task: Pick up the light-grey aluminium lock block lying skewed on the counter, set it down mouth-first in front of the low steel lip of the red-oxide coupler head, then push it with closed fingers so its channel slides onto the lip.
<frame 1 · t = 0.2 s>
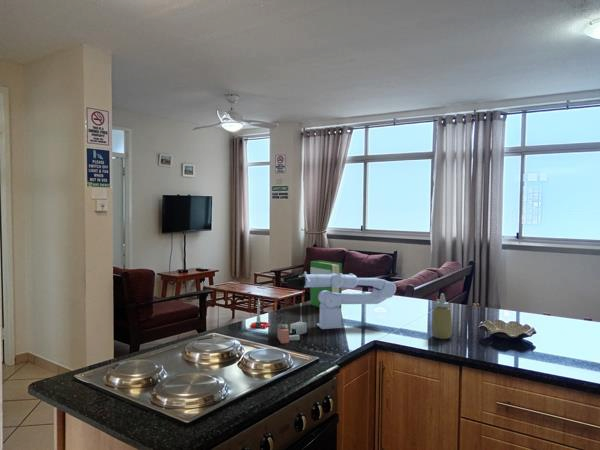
hand: (285, 281, 187), 21 cm above the worktop, tool horizontal, fingers open, 7 cm apart
lock block: (298, 332, 182), on the worktop
squeeze bottle: (441, 337, 177), on the worktop
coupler: (286, 340, 172), on the worktop
hardback book: (325, 306, 234), on the worktop
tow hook: (260, 326, 193), on the worktop
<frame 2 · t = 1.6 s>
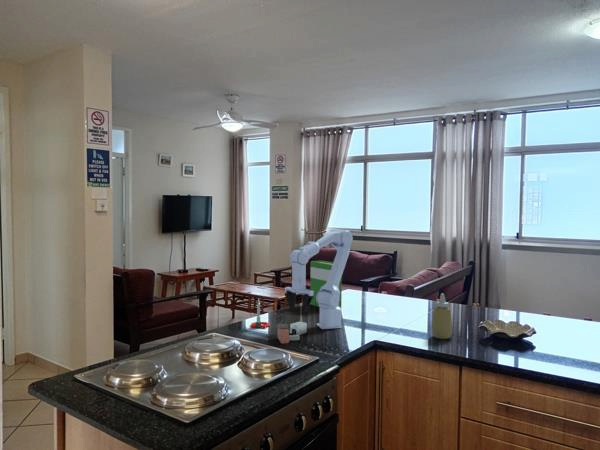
hand: (298, 310, 182), 9 cm above the worktop, tool pointing down, fingers open, 7 cm apart
nothing on the worktop moved.
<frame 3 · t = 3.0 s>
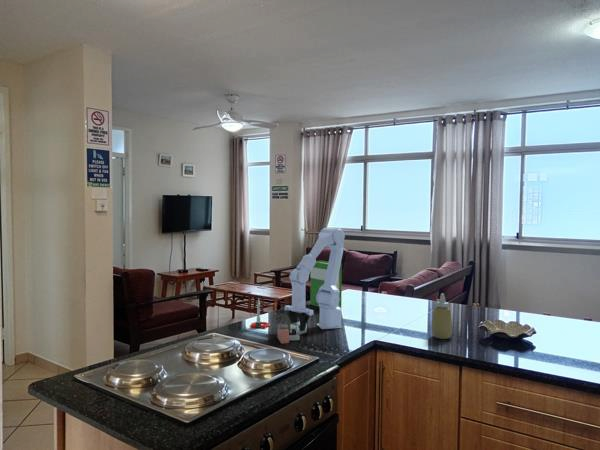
hand: (298, 329, 182), 1 cm above the worktop, tool pointing down, fingers closed on lock block, 4 cm apart
lock block: (298, 332, 182), on the worktop, touching gripper
everything else where it was.
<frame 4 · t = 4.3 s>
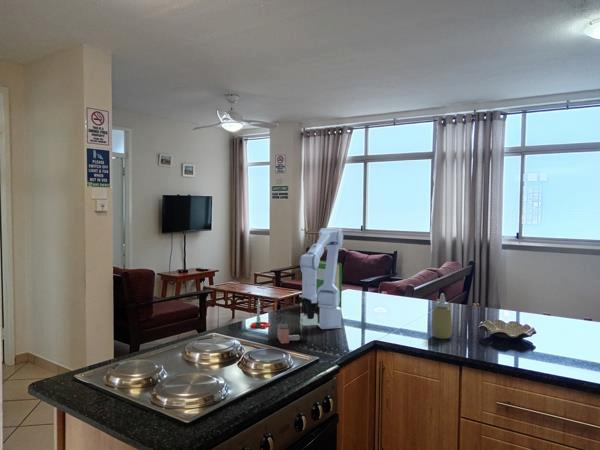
hand: (309, 317, 174), 8 cm above the worktop, tool pointing down, fingers closed on lock block, 4 cm apart
lock block: (308, 324, 174), point 6 cm above the worktop, touching gripper
everything else where it was.
when the fingers open (3 cm above the worktop, at t = 5.7 s): lock block stays where it is, on the worktop.
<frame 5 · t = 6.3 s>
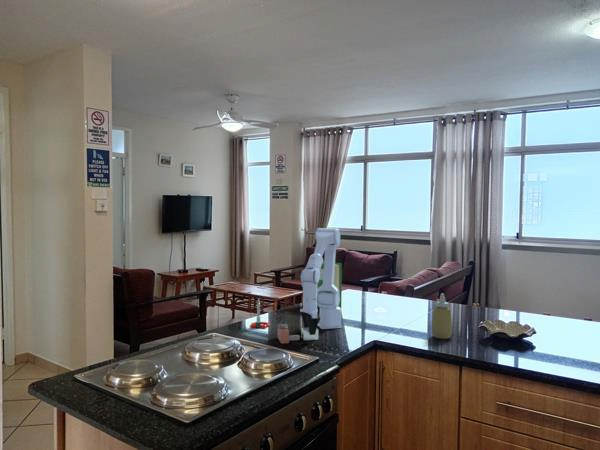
hand: (309, 331, 174), 3 cm above the worktop, tool pointing down, fingers open, 7 cm apart
lock block: (309, 338, 174), on the worktop
everything else where it was.
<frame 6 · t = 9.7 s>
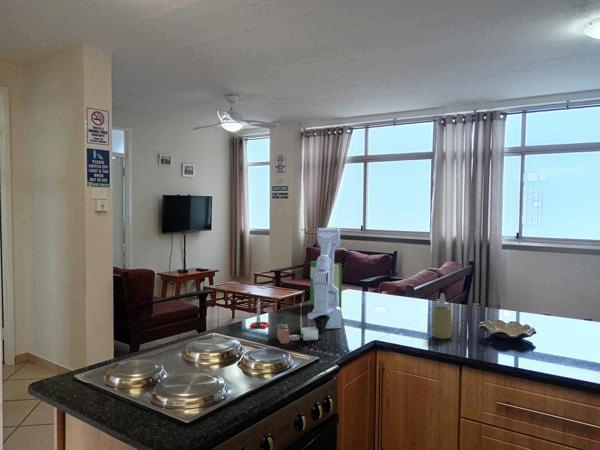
hand: (321, 333, 175), 2 cm above the worktop, tool pointing down, fingers closed
lock block: (309, 338, 174), on the worktop, touching gripper
everything else where it was.
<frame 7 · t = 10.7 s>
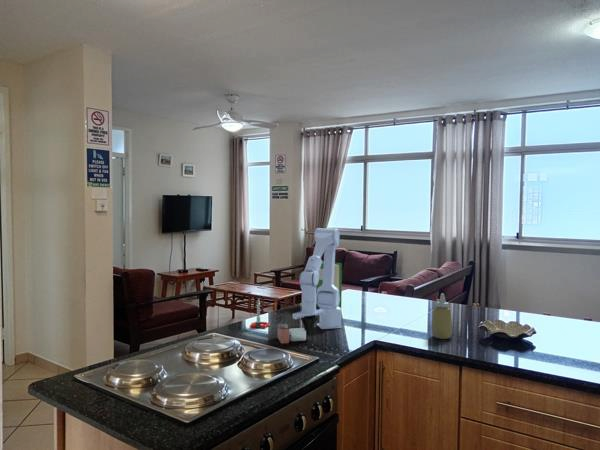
hand: (308, 334, 174), 2 cm above the worktop, tool pointing down, fingers closed
lock block: (297, 339, 172), resting in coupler, touching gripper
everything else where it was.
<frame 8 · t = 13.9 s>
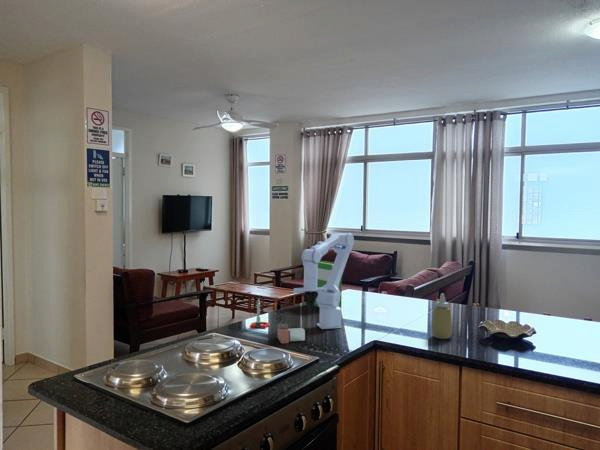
hand: (309, 309, 181), 10 cm above the worktop, tool pointing down, fingers closed
lock block: (296, 339, 172), resting in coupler
everything else where it was.
at the end: lock block 0.4 cm from the target spot, resting in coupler; lock block tilted 0°; the gripper is holding nothing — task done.
